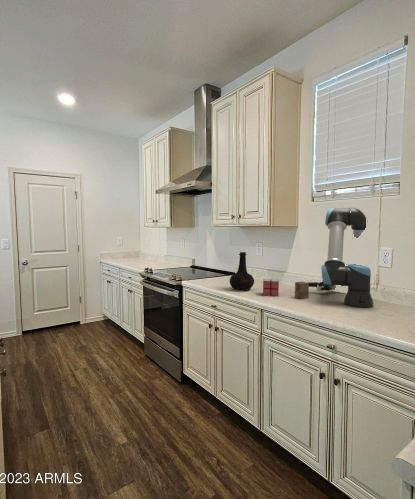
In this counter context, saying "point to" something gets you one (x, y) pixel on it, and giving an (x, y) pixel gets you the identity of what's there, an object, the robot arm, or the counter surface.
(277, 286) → the puzzle cube
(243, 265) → the dark bulbous vase
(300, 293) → the walnut block
